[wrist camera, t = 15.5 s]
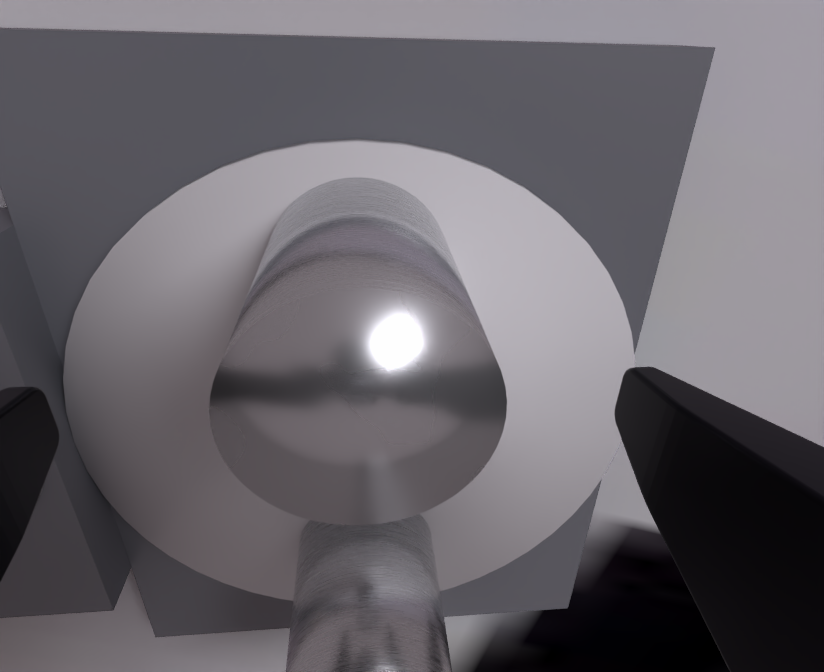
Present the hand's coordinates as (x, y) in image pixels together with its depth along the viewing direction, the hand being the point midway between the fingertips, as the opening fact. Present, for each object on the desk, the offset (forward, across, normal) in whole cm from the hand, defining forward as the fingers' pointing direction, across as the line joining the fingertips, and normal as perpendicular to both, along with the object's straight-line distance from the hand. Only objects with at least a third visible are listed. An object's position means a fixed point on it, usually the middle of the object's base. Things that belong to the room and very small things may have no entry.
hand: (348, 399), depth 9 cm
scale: (+7, +2, +5) cm, 9 cm away
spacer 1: (+6, 0, 0) cm, 6 cm away
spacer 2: (+6, 0, +10) cm, 11 cm away
